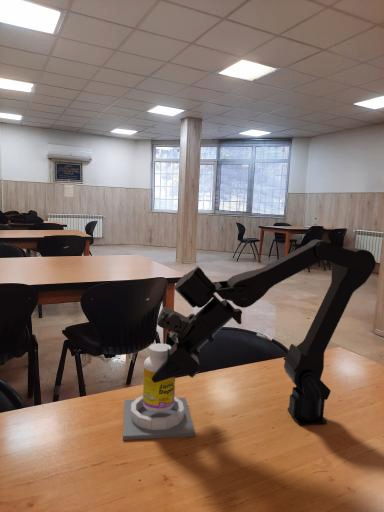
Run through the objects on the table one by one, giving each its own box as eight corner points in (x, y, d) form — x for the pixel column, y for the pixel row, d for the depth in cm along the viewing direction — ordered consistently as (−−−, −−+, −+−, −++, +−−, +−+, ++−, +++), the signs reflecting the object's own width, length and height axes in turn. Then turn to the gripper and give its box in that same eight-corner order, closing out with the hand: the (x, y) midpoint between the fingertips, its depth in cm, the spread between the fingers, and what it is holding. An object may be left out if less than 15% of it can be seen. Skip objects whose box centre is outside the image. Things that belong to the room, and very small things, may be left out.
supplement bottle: (157, 417, 76) (159, 355, 74) (136, 405, 80) (137, 346, 79) (180, 405, 81) (182, 347, 79) (159, 395, 85) (160, 339, 84)
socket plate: (185, 400, 89) (185, 389, 89) (194, 436, 75) (195, 422, 75) (124, 403, 87) (124, 391, 86) (122, 439, 73) (123, 426, 73)
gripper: (178, 286, 87) (129, 332, 88) (183, 307, 69) (121, 365, 69) (210, 319, 89) (162, 365, 89) (224, 348, 71) (164, 405, 71)
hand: (153, 373), depth 80 cm, fingers closed on supplement bottle, 7 cm apart
